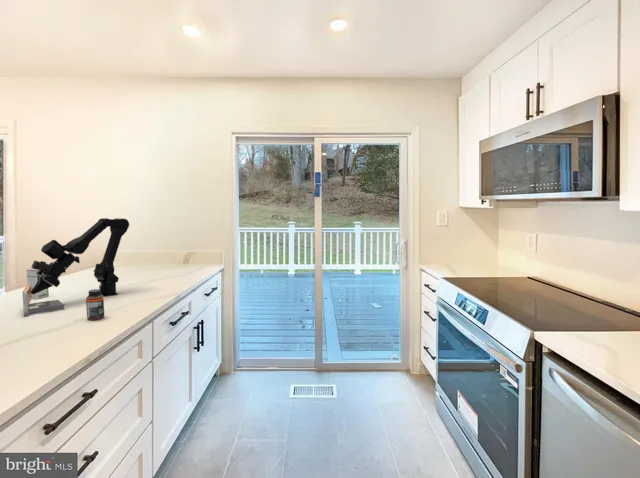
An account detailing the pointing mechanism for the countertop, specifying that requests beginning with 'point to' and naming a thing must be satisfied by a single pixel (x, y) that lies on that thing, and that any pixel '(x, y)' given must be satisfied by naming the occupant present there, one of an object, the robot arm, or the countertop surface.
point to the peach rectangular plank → (28, 288)
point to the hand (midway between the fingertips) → (32, 293)
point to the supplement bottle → (95, 305)
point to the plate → (40, 306)
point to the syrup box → (33, 280)
